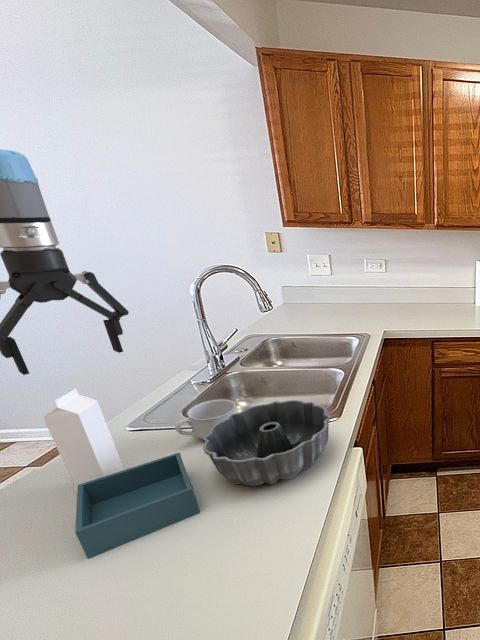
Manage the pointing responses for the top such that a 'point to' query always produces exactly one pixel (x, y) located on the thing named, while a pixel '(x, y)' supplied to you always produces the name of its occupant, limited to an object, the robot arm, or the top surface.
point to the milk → (82, 438)
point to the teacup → (206, 417)
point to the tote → (133, 504)
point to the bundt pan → (268, 441)
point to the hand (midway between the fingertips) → (74, 361)
